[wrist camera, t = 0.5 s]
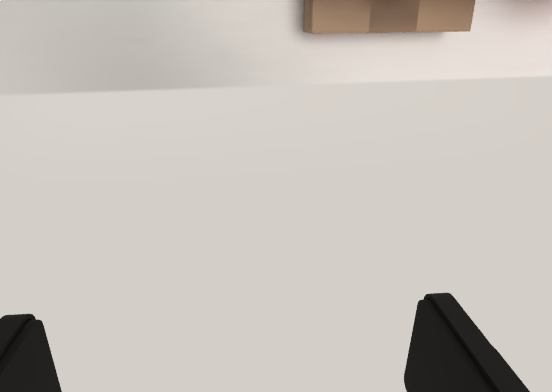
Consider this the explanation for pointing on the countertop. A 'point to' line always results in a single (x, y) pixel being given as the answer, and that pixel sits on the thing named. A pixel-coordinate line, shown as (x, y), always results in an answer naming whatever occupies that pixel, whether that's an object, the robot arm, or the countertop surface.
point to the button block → (387, 16)
